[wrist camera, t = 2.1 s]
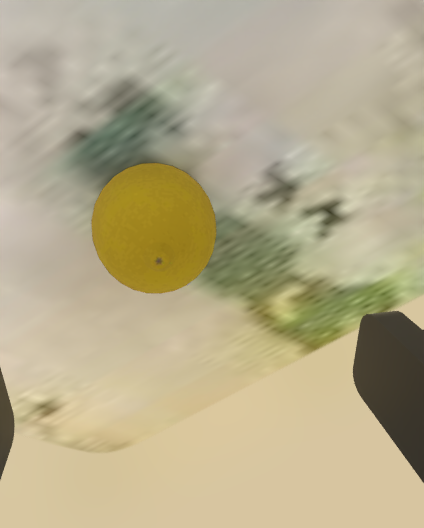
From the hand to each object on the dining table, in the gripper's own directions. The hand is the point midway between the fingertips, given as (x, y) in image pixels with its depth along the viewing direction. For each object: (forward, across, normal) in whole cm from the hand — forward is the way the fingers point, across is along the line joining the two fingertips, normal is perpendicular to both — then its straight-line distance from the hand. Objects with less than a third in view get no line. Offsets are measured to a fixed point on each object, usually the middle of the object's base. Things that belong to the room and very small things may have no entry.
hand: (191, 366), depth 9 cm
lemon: (+15, 0, 0) cm, 15 cm away
